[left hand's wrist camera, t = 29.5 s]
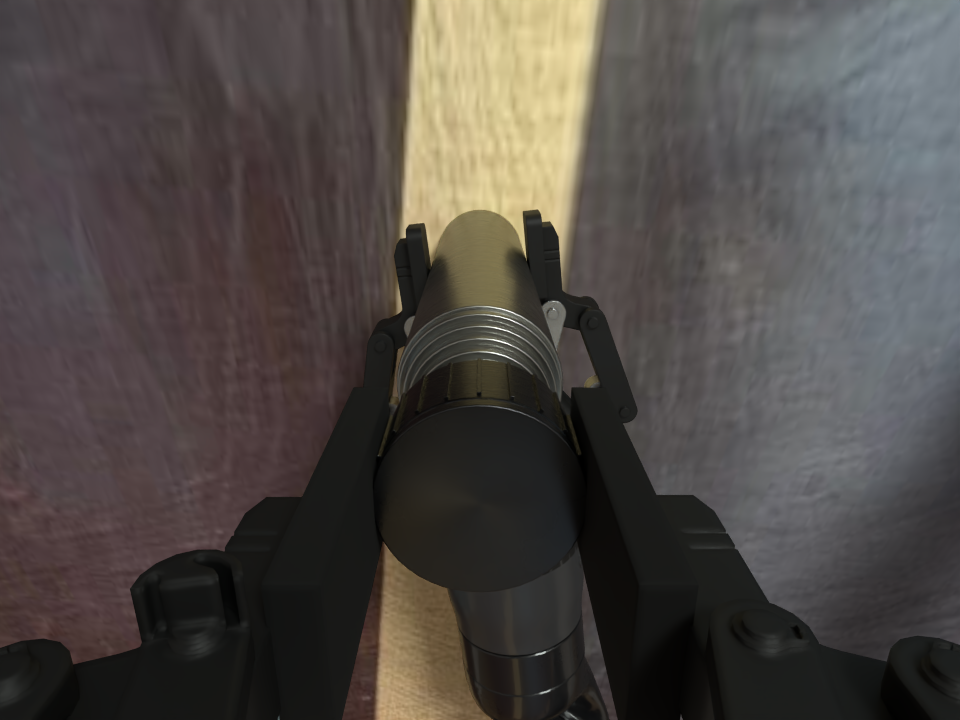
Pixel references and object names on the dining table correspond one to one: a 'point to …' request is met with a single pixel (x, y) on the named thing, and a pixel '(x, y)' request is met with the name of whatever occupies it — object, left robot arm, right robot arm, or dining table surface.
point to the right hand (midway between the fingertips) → (473, 221)
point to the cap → (479, 478)
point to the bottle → (480, 306)
